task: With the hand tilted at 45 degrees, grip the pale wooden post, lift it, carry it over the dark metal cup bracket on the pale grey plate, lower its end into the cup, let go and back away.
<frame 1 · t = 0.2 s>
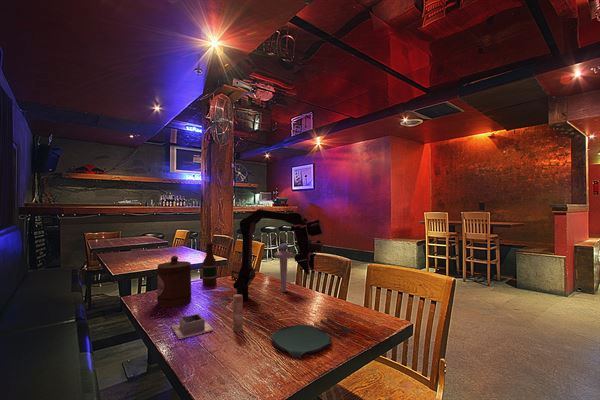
hand: (310, 272, 131), 15 cm above the table, tool pointing down, fingers open, 9 cm apart
wooden container: (174, 302, 137), on the table
wooden post: (237, 329, 107), on the table
cutlery set: (312, 339, 101), on the table
beer bottle: (209, 284, 166), on the table
ammunition clip: (237, 280, 176), on the table
cup bracket: (192, 329, 108), on the table
novelty light stick: (283, 291, 153), on the table
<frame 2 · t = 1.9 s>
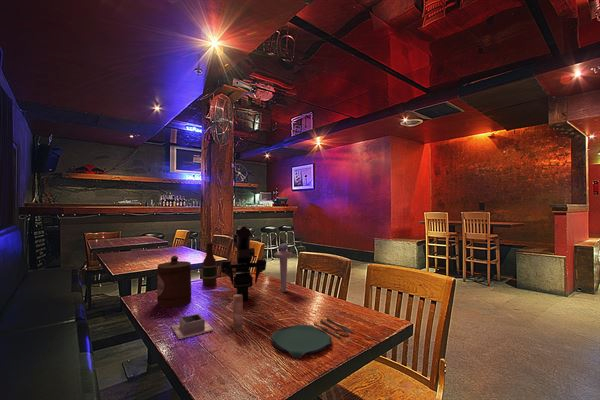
hand: (244, 284, 118), 14 cm above the table, tool tilted 40°, fingers open, 9 cm apart
nothing on the table moved.
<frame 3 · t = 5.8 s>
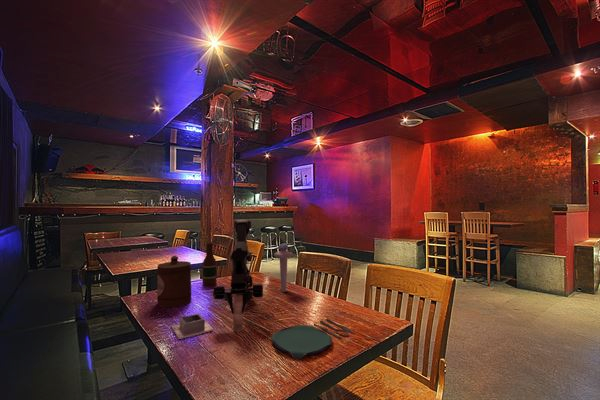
hand: (237, 313, 106), 7 cm above the table, tool tilted 45°, fingers closed on wooden post, 3 cm apart
wooden post: (237, 329, 107), on the table, touching gripper
everything else where it was.
when the fingers open (9 cm above the table, at t = 10.5 s): wooden post drops 1 cm, resting on cup bracket.
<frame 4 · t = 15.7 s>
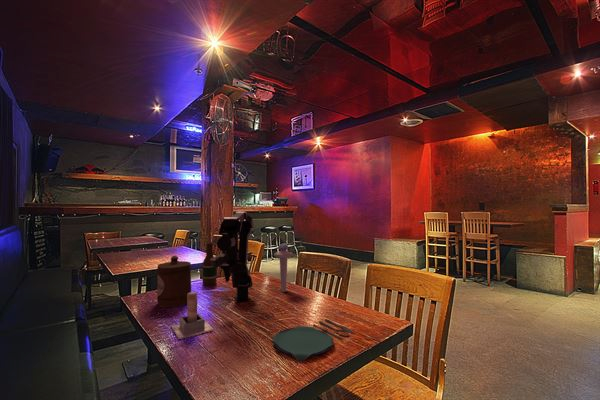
hand: (231, 284, 121), 13 cm above the table, tool pointing down, fingers open, 9 cm apart
wooden post: (192, 327, 108), point 1 cm above the table, touching cup bracket
at the end: wooden post 0.0 cm off-centre on the cup bracket, point 0.8 cm above the cup bracket's base; wooden post tilted 1°; the gripper is holding nothing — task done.
